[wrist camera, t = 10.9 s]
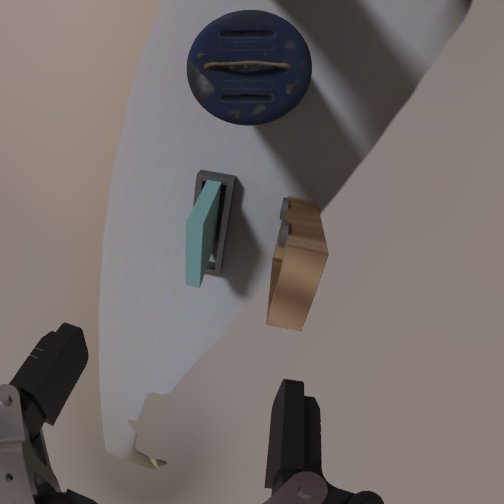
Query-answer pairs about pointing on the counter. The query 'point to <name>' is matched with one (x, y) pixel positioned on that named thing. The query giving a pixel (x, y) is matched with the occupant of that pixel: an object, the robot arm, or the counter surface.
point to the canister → (249, 67)
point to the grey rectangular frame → (230, 182)
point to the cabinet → (296, 263)
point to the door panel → (201, 232)
